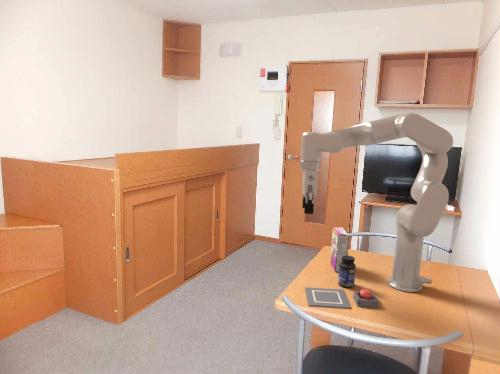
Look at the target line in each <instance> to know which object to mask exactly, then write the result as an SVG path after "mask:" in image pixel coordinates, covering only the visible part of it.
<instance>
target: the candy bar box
mask: <svg viewBox="0 0 500 374" xmlns="http://www.w3.org/2000/svg"><path fill="white" fill-rule="evenodd" d="M331 232H332V235H331V249H330V265H331V266H332V268H333V270H334V272H335V273H339V264H340V263H341V262H342V256H345V255H348V256H349V246H350V245H349V243H350V241H349V240H350V234H349V233H348V232H347V231H346V229H345V227H337V226H336V227H335V226H334V227H332V230H331Z"/></svg>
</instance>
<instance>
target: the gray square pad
mask: <svg viewBox="0 0 500 374" xmlns="http://www.w3.org/2000/svg"><path fill="white" fill-rule="evenodd" d="M304 290H305V295H306V300H307V305H308V307H317V308H321V307H322V308H336V309H348V310H349V309H352V307H351V304H350V302H349V300H348V297H347V294H346V293H345V290H344V289H341V288H340V289H338V288H337V289H336V288H325V287H324V288H322V287H307V286H305V287H304Z"/></svg>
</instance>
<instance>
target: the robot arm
mask: <svg viewBox="0 0 500 374" xmlns="http://www.w3.org/2000/svg"><path fill="white" fill-rule="evenodd" d="M403 138H407V139H409V140H411V141H413V142H414V143H416V146H417V148H418V149H419V150H420V153H421V156H422V161H421V165H420V169H419V171H418V172H417V174H416V178H415V180H414V182H413V184H412V186H411V188H410V196H411V197H412V199H413V200H414V201H415V202H416V204H413V203H412V204H411V203H409V204H405V205H403V206H401V207H400V209H399V210H398V212H397V214H396V218H395V219H396V239H395V246H394V247H395V248H394V256H393V257H394V259H393V266H392V267H393V268H392V276H389V277H388V278H387V284H388V285H389V286H390V287H391V288H394V289H395V290H398V291H402V292H408V293H415V292H420V291H422V290H423V285H424V284H428V285H429V284H430V285H431V284H433V279H432V278H427V277H426V276H424V275H423V276H421V275H420V274H421V266H422V265H421V263H422V256H423V249H424V238H426V237H428V236H430V235H432V234H433V233H434V231H435V230H436V228H437V227H438V226H439V222H440V221H441V218H442V217H443V214H444V212H445V210H446V207H447V205H448V203H449V198H450V196H449V195H450V193H449V190H448V188H447V186H446V185H445V184H443V180H444V178H445V175H446V172H447V169H448V163H449V160H448V159H449V158H448V153H447V152H449V151H450V150H451V149H452V147H453V146H454V145H453V144H454V138H453V135H452V134H451V133H450V131H448V130H447V129H445V128H444V127H442V126H440V125H438V124H436V123H434V122H433V121H431V120H429V119H428V118H425V117H424V116H422V115H420V114H418V113H414V112H409V113H408V112H407V113H400V114H396V115H391V116H387V117H383V118H378V119H375V120H371V121H366V122H363V123H360V124H356V125H353V126H348V127H345V128H341V129H336V130H332V131H327V132H325V133H324V132H323V133H321V132H317V131H305V132H303V133H302V135H301V139H300V140H301V145H300V163H299V170H302V181H301V182H302V184H301V185H302V186H301V188H302V191H301V192H302V195H303V197H302V209H304V211H303V213H304V214H305V215H313V214H314V206H315V203H314V197H315V198H317V197H318V184H319V181H318V180H319V179H318V178H319V174H318V173H319V171H321V164H322V163H321V162H322V152H323V153H329V154H337V153H340V152H341V151H343V149H346V148H350V147H357V146H372V145H378V144H382V143H386V142H390V141H395V140H399V139H403Z"/></svg>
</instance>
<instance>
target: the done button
mask: <svg viewBox="0 0 500 374" xmlns="http://www.w3.org/2000/svg"><path fill="white" fill-rule="evenodd" d="M372 293H373V291H372V290H370V289H368V288H361V289H360V297H361V298H363V299H372Z"/></svg>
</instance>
